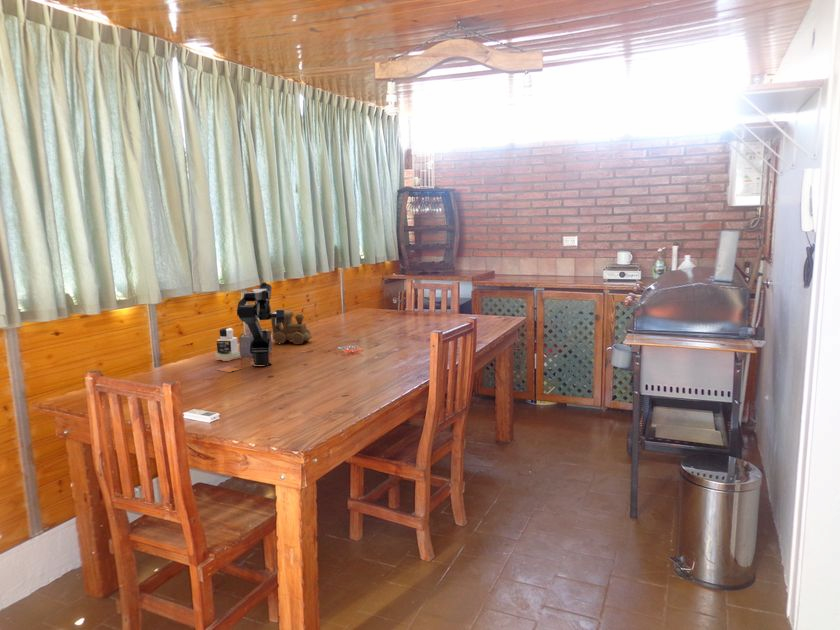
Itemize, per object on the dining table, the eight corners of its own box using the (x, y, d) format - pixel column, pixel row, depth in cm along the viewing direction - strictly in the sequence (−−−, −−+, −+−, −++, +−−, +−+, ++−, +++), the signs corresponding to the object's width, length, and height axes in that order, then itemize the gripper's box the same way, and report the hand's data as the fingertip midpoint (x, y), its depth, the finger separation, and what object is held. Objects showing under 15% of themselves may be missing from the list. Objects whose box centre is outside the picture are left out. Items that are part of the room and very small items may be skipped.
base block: (240, 358, 285) (239, 352, 284) (227, 361, 278) (226, 355, 278) (229, 356, 289) (228, 350, 288) (215, 360, 282) (215, 353, 282)
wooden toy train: (269, 344, 313) (267, 313, 310) (279, 340, 324) (277, 310, 321) (304, 345, 309) (303, 314, 306) (313, 341, 320) (311, 310, 317)
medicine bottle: (217, 354, 280) (215, 329, 278) (224, 351, 287) (222, 327, 285) (231, 355, 279) (229, 330, 277) (238, 351, 286) (236, 327, 284)
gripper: (283, 293, 286) (284, 311, 298) (243, 295, 282) (246, 314, 294) (284, 311, 280) (285, 330, 292) (243, 314, 276) (246, 332, 288)
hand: (266, 326), depth 292 cm, fingers open, 9 cm apart
